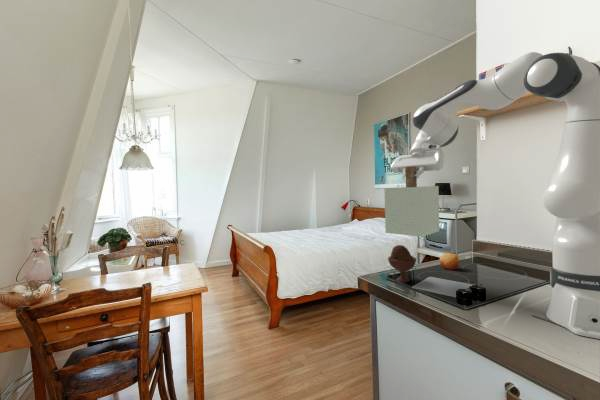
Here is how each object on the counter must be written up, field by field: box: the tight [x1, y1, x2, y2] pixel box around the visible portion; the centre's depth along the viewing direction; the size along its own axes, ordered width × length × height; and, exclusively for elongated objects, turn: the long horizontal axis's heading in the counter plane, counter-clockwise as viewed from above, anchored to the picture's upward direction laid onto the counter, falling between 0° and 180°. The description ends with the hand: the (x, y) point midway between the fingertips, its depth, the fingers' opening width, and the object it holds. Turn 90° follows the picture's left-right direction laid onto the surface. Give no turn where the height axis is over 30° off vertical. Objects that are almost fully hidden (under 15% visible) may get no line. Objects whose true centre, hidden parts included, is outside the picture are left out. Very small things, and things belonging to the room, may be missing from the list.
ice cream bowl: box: [387, 244, 417, 283], centre depth 115 cm, size 11×11×15 cm
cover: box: [384, 167, 440, 237], centre depth 112 cm, size 15×15×26 cm
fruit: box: [439, 252, 460, 271], centre depth 129 cm, size 8×8×8 cm
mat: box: [411, 276, 474, 298], centre depth 106 cm, size 17×17×1 cm
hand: (410, 177), depth 111 cm, fingers closed on cover, 3 cm apart
